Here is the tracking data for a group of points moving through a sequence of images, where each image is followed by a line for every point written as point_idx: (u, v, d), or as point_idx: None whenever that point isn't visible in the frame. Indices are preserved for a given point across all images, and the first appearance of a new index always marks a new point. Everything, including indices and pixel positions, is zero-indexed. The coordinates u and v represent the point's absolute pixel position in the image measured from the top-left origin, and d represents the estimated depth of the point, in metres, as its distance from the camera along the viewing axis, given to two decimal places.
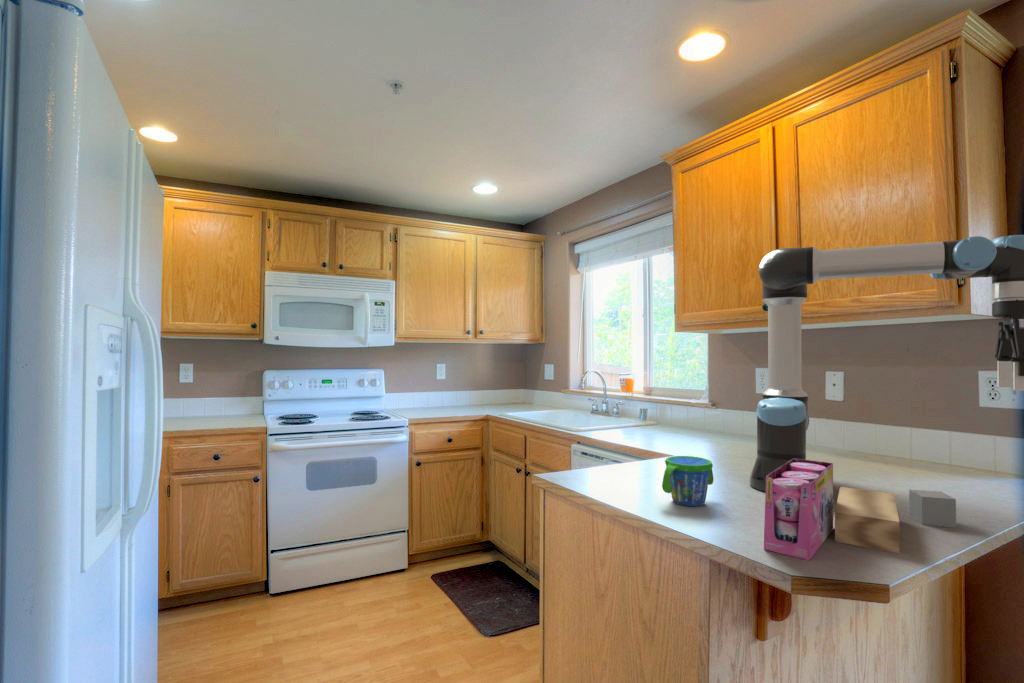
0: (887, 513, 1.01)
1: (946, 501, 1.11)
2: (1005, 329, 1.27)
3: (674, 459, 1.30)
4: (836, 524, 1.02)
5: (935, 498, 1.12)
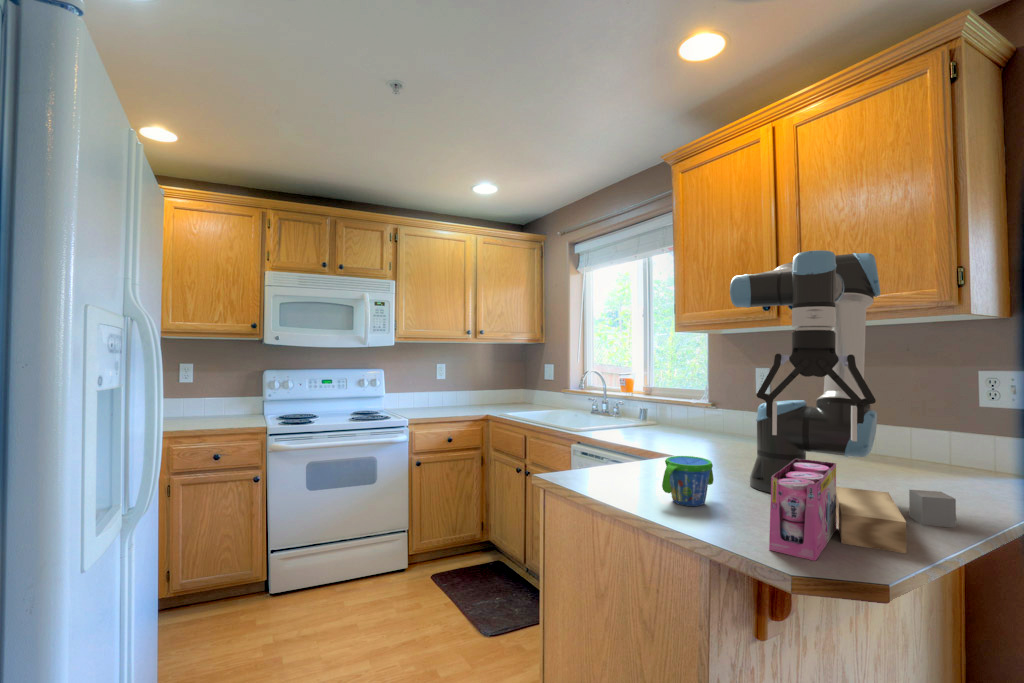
0: (891, 513, 1.01)
1: (946, 501, 1.11)
2: None
3: (674, 459, 1.30)
4: (843, 526, 1.01)
5: (935, 498, 1.12)
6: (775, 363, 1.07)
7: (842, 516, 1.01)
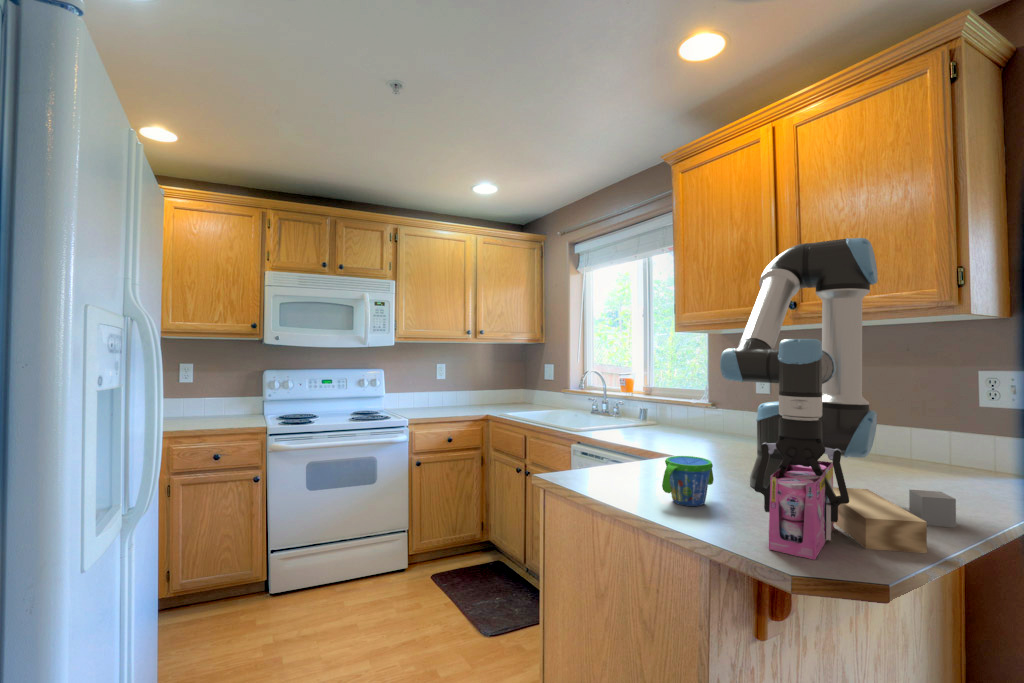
0: (902, 513, 1.01)
1: (946, 501, 1.11)
2: None
3: (674, 459, 1.30)
4: (867, 531, 0.98)
5: (935, 498, 1.12)
6: (763, 454, 1.06)
7: (866, 521, 0.98)
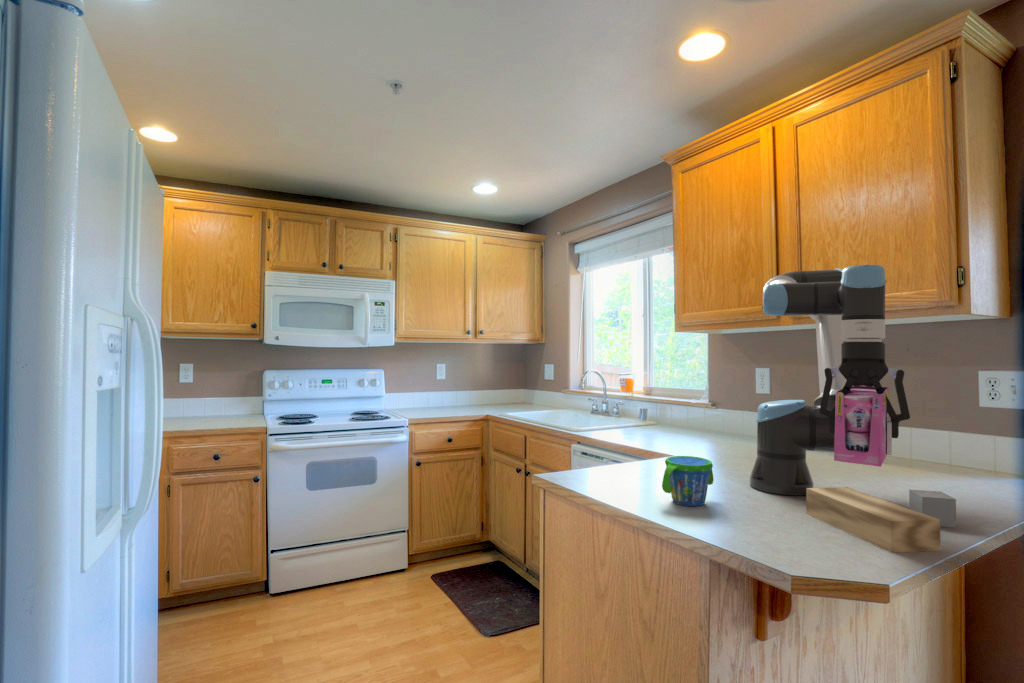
0: (909, 511, 1.02)
1: (946, 501, 1.11)
2: None
3: (674, 459, 1.30)
4: (892, 534, 0.97)
5: (935, 498, 1.12)
6: (827, 378, 1.11)
7: (892, 524, 0.97)
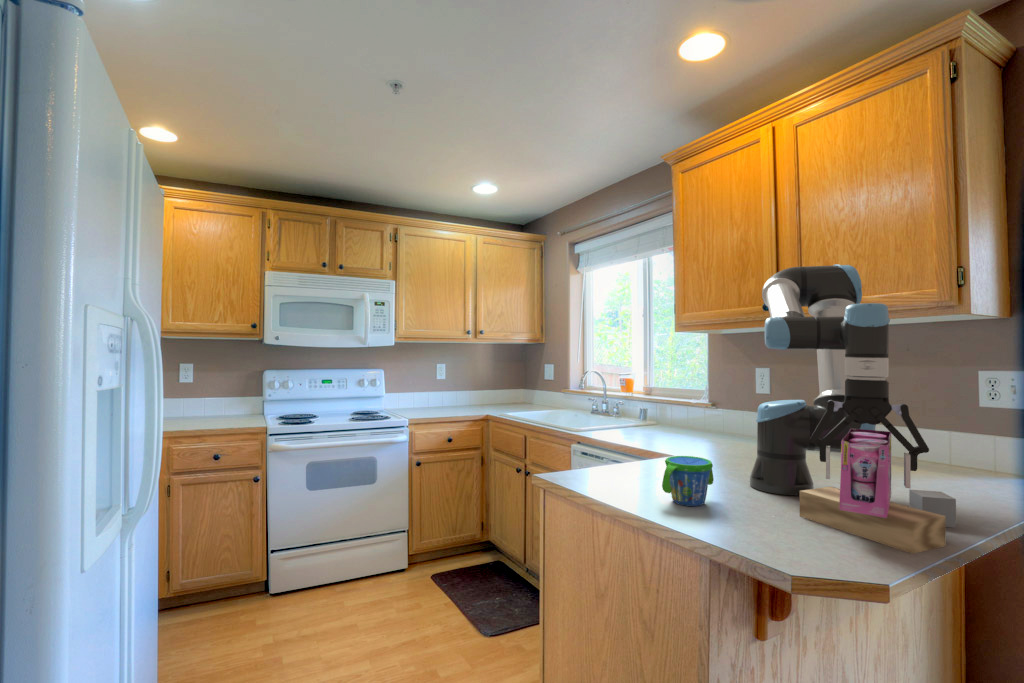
0: (912, 509, 1.04)
1: (946, 501, 1.11)
2: None
3: (674, 459, 1.30)
4: (913, 535, 0.96)
5: (935, 498, 1.12)
6: (828, 410, 1.11)
7: (912, 525, 0.96)
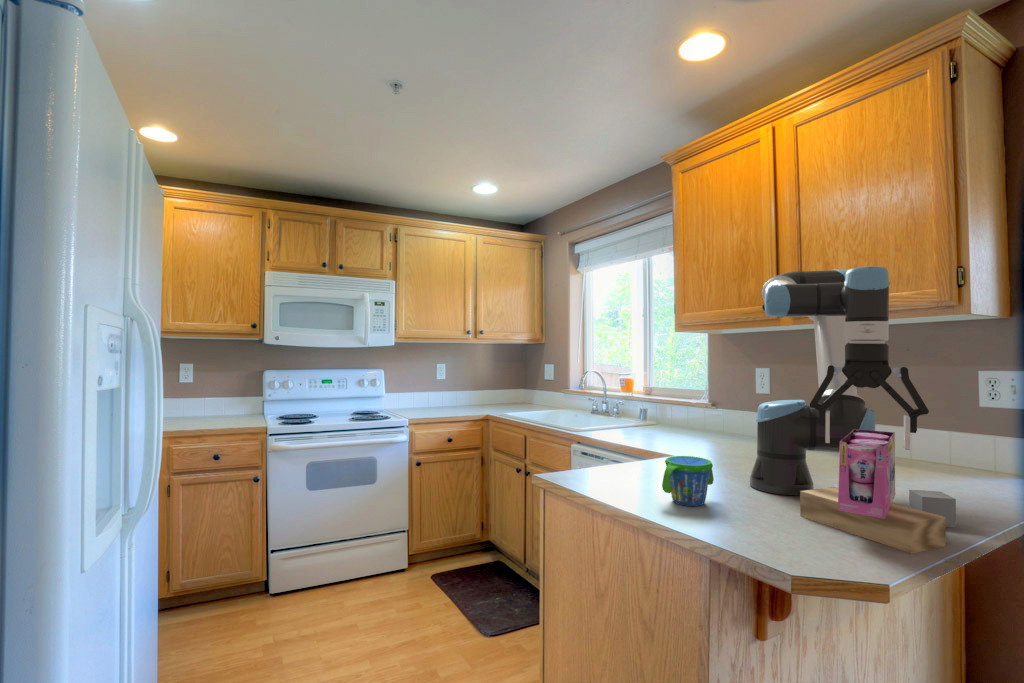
0: (912, 510, 1.04)
1: (946, 501, 1.11)
2: None
3: (674, 459, 1.30)
4: (912, 535, 0.96)
5: (935, 498, 1.12)
6: (828, 374, 1.12)
7: (912, 525, 0.96)
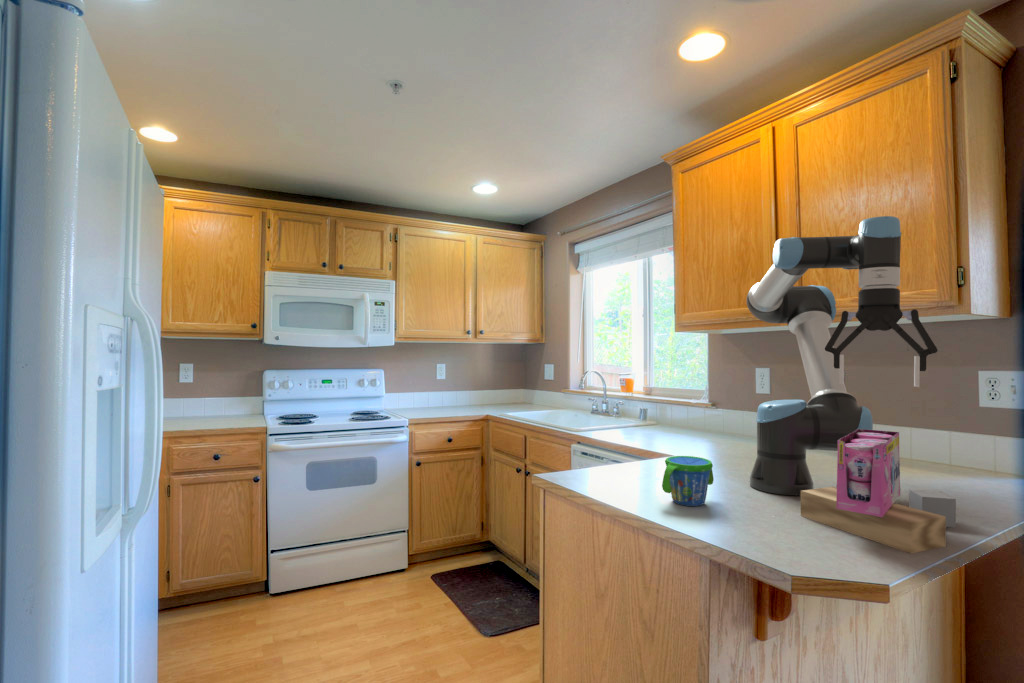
0: (912, 510, 1.04)
1: (946, 501, 1.11)
2: None
3: (674, 459, 1.30)
4: (911, 535, 0.96)
5: (935, 498, 1.12)
6: (842, 319, 1.19)
7: (911, 525, 0.96)
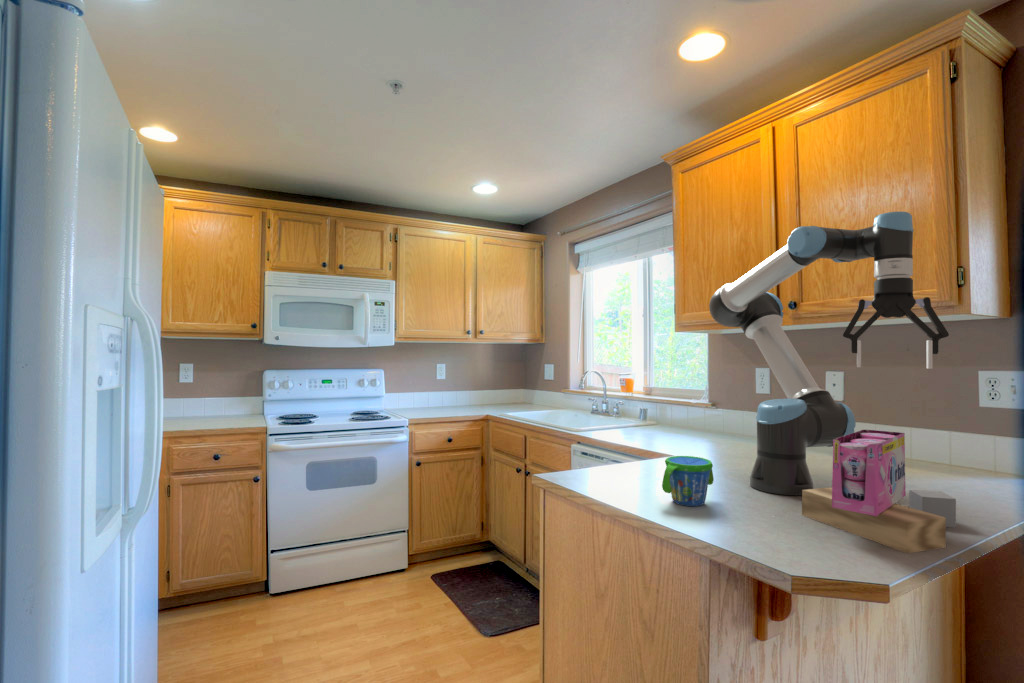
0: (912, 510, 1.04)
1: (946, 501, 1.11)
2: None
3: (674, 459, 1.30)
4: (908, 535, 0.96)
5: (935, 498, 1.12)
6: (859, 307, 1.28)
7: (907, 525, 0.96)
